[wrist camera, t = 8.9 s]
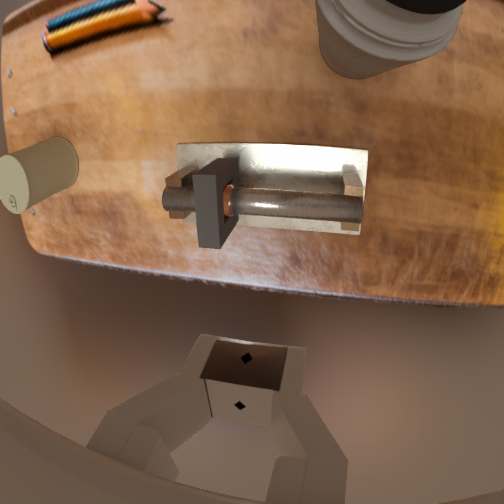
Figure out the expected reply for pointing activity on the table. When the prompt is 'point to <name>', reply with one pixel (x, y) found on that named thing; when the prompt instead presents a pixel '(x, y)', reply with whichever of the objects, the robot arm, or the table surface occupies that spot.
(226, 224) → the collar
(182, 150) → the rail
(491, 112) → the table surface
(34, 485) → the robot arm
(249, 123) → the table surface
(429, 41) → the thermos bottle
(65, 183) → the can
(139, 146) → the table surface
